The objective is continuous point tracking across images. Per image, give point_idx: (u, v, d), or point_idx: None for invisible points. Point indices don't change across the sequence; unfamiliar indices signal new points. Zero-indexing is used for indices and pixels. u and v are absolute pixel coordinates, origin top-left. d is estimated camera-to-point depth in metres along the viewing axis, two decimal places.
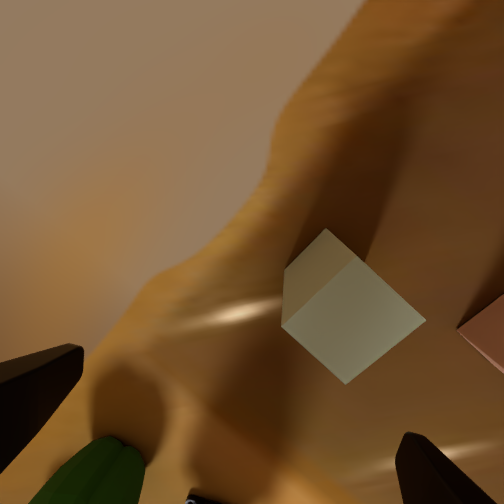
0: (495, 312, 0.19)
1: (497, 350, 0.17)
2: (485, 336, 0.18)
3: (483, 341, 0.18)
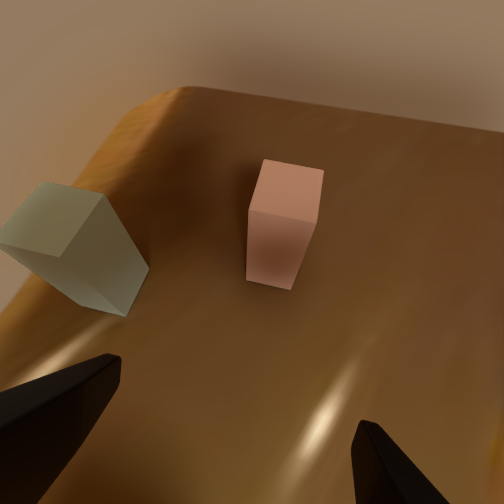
0: None
1: None
2: None
3: None
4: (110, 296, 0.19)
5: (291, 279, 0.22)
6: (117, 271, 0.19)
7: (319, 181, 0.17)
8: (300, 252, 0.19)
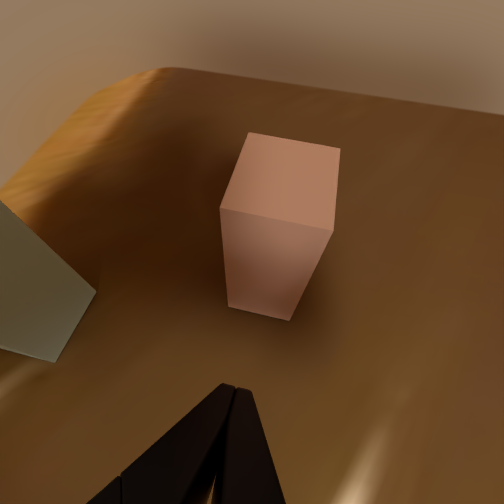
0: None
1: None
2: None
3: None
4: (16, 341, 0.13)
5: (291, 309, 0.16)
6: (29, 302, 0.13)
7: (334, 164, 0.11)
8: (304, 274, 0.12)
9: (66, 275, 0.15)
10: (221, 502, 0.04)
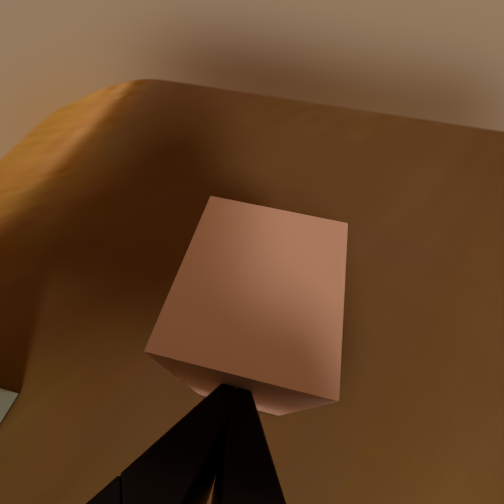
0: None
1: None
2: None
3: None
4: None
5: (278, 413, 0.12)
6: None
7: (339, 254, 0.07)
8: (294, 407, 0.08)
9: None
10: (221, 502, 0.04)
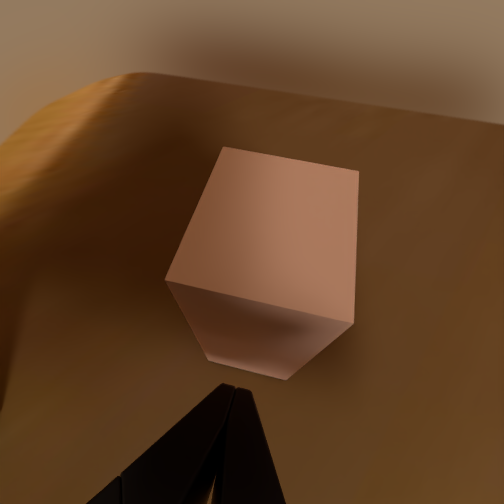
0: None
1: None
2: None
3: None
4: None
5: (287, 373, 0.12)
6: None
7: (351, 198, 0.07)
8: (305, 354, 0.08)
9: None
10: (221, 502, 0.04)
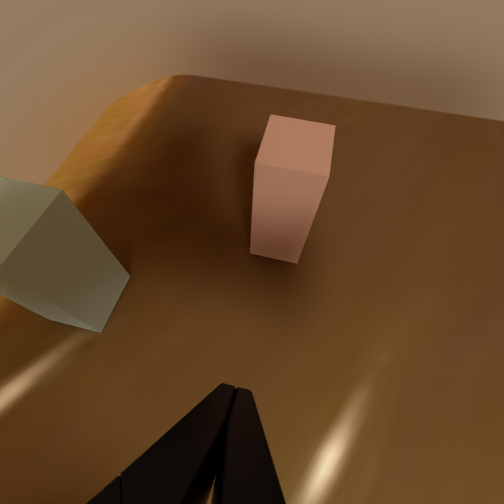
0: None
1: None
2: None
3: None
4: (77, 311, 0.16)
5: (298, 250, 0.21)
6: (86, 281, 0.16)
7: (331, 136, 0.16)
8: (310, 215, 0.17)
9: (110, 261, 0.18)
10: (221, 502, 0.04)
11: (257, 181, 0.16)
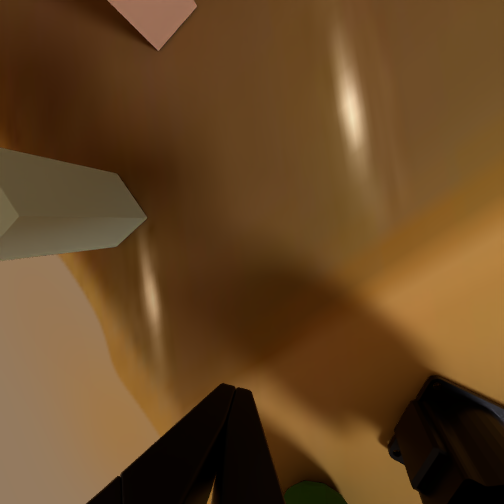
0: None
1: None
2: None
3: None
4: (112, 213, 0.19)
5: None
6: (90, 193, 0.18)
7: None
8: None
9: (87, 171, 0.19)
10: (221, 502, 0.04)
11: None
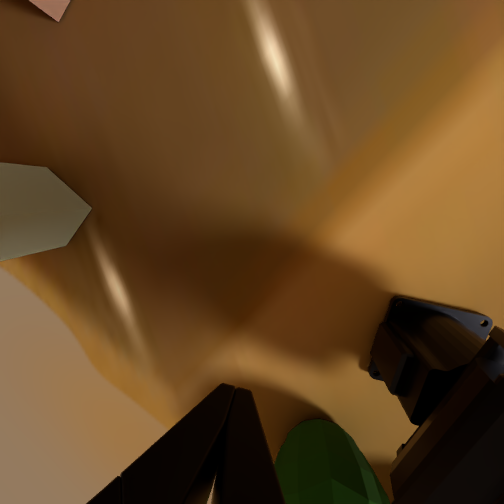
0: None
1: None
2: None
3: None
4: (49, 207, 0.17)
5: None
6: (18, 189, 0.17)
7: None
8: None
9: (9, 168, 0.17)
10: (221, 502, 0.04)
11: None
